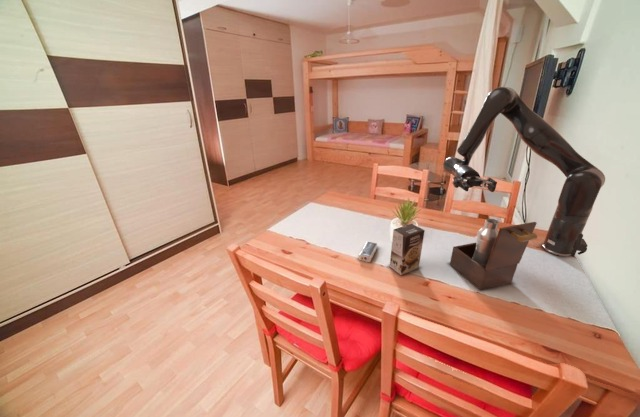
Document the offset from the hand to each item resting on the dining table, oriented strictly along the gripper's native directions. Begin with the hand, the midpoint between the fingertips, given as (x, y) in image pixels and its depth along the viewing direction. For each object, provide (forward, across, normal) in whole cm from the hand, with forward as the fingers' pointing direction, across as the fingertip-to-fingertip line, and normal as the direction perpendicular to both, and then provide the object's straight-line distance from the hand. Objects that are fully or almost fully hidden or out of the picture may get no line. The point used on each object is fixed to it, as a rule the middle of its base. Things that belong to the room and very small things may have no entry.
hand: (480, 189), depth 95 cm
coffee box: (+14, -26, +27) cm, 40 cm away
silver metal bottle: (+14, 0, +26) cm, 30 cm away
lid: (+21, +3, +11) cm, 24 cm away
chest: (+14, 0, +27) cm, 30 cm away
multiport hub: (+7, -39, +26) cm, 48 cm away
